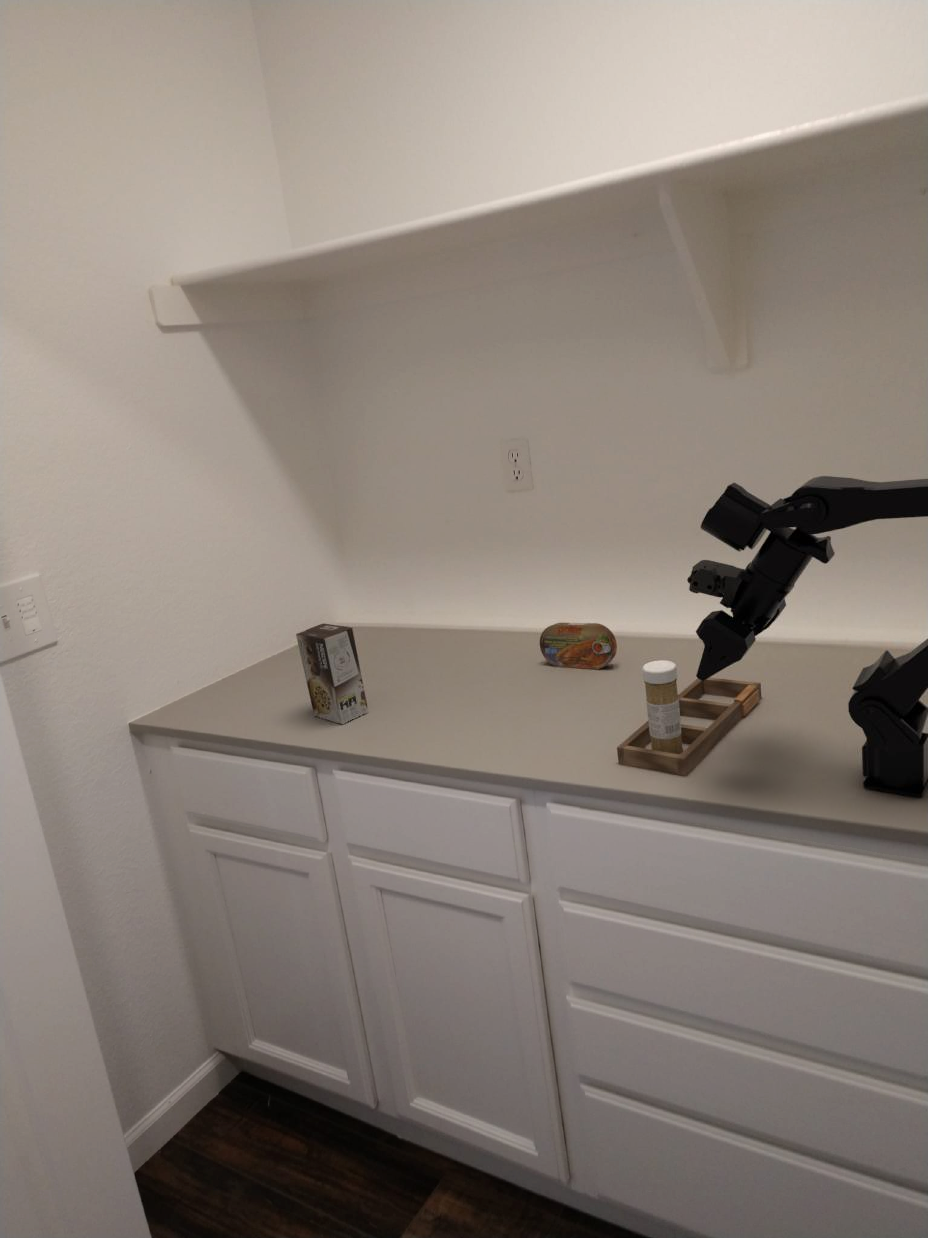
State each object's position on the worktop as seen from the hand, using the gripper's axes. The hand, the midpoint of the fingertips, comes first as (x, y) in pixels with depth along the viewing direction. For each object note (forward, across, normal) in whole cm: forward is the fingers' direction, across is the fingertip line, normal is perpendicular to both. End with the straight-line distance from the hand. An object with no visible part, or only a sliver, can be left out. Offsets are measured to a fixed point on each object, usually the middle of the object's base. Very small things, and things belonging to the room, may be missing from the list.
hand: (711, 666), depth 113 cm
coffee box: (+49, +2, -49) cm, 70 cm away
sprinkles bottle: (+15, +1, +2) cm, 15 cm away
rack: (+15, -8, +2) cm, 17 cm away
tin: (+31, -30, -22) cm, 48 cm away
